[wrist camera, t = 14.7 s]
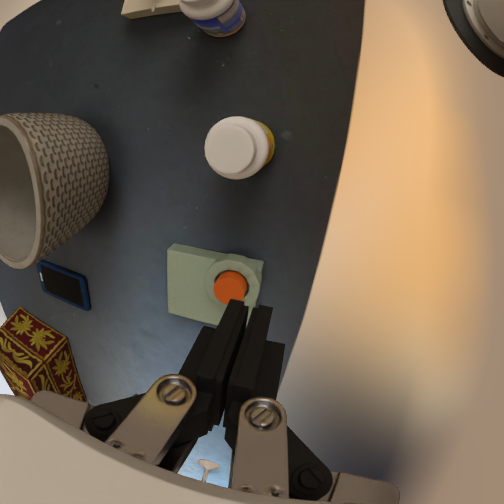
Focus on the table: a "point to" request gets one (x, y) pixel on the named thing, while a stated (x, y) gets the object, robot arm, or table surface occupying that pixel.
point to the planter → (47, 183)
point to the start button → (230, 287)
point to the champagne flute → (207, 467)
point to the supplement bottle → (239, 147)
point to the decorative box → (37, 358)
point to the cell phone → (64, 284)
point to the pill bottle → (215, 15)
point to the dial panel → (149, 8)
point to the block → (206, 281)
